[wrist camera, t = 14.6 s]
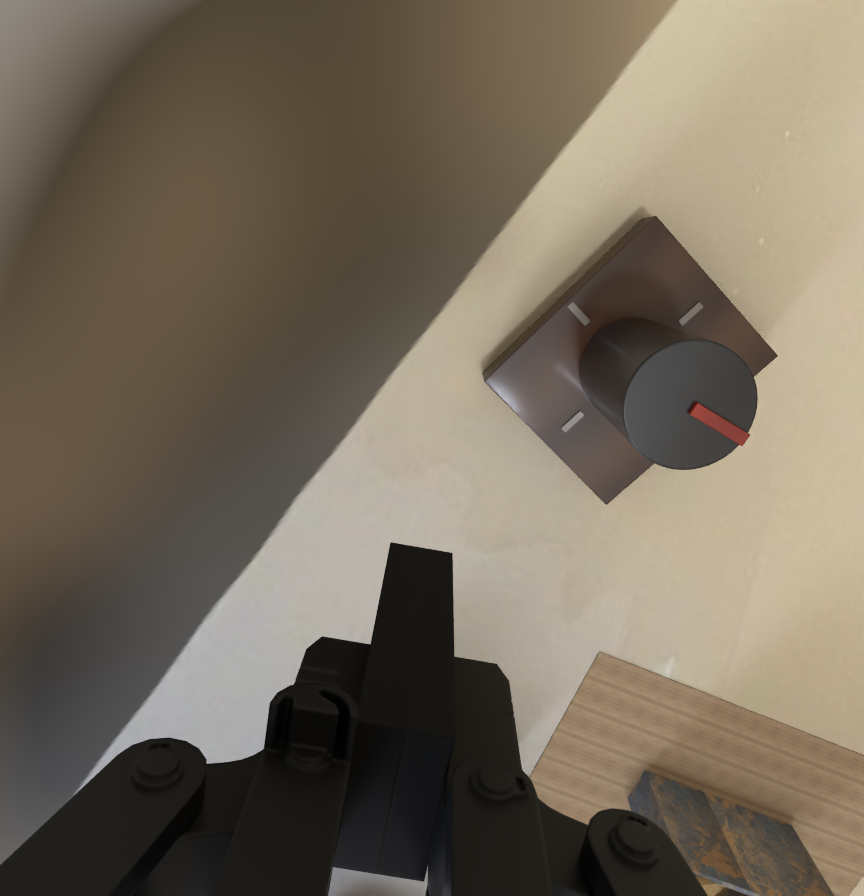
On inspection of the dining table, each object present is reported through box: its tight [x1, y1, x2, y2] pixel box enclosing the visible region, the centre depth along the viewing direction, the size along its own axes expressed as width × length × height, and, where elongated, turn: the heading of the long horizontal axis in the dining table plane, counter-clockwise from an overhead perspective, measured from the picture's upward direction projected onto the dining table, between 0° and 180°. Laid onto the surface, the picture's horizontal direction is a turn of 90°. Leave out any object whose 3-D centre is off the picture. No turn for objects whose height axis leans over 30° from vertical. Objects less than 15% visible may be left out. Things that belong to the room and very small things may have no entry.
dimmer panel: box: [482, 216, 777, 505], centre depth 38 cm, size 10×12×3 cm
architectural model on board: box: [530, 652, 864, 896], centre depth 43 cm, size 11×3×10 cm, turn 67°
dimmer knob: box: [580, 318, 757, 470], centre depth 32 cm, size 5×5×10 cm
